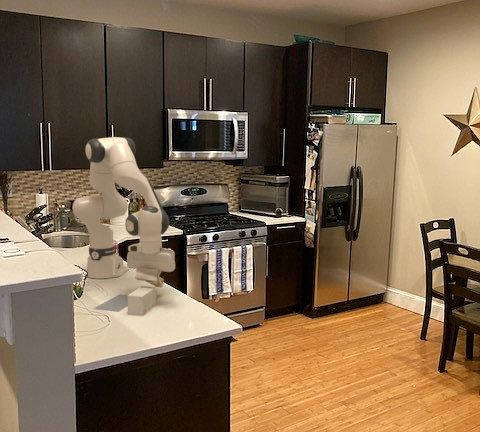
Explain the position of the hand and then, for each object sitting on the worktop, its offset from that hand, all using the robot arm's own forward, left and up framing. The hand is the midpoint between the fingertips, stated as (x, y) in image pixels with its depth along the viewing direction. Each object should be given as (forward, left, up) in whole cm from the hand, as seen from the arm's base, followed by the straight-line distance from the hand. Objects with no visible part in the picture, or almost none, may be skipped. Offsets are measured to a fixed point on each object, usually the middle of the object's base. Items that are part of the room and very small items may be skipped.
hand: (151, 280), depth 212 cm
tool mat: (+5, -12, -10) cm, 16 cm away
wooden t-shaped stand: (-1, 0, -2) cm, 2 cm away
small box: (+3, 0, -6) cm, 6 cm away
